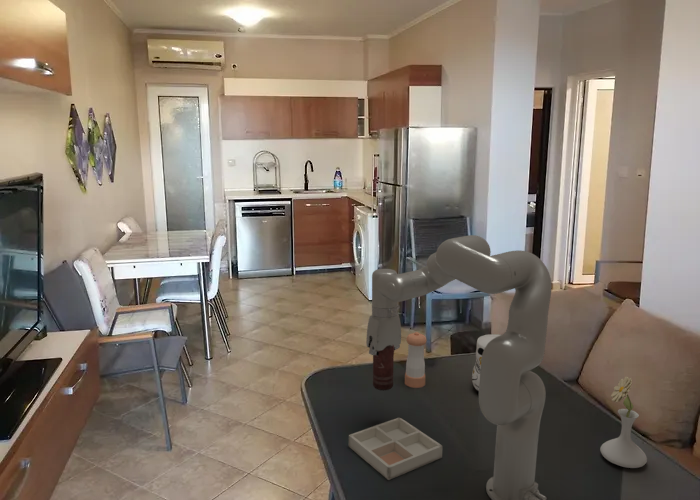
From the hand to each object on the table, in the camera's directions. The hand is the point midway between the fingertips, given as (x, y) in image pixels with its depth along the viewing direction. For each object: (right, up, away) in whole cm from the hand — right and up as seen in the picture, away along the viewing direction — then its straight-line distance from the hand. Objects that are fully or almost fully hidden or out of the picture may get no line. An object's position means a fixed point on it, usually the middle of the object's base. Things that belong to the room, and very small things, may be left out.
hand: (384, 369), depth 161 cm
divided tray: (+2, -20, -12) cm, 24 cm away
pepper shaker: (+13, -12, +30) cm, 35 cm away
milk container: (+40, -13, +25) cm, 49 cm away
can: (0, -6, +1) cm, 6 cm away
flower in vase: (+63, -21, -16) cm, 69 cm away
